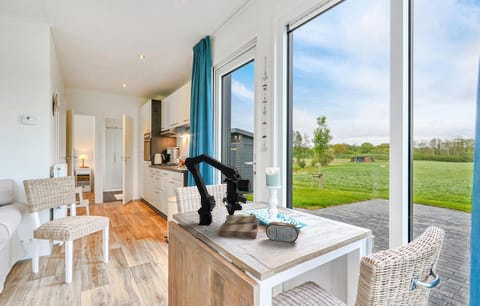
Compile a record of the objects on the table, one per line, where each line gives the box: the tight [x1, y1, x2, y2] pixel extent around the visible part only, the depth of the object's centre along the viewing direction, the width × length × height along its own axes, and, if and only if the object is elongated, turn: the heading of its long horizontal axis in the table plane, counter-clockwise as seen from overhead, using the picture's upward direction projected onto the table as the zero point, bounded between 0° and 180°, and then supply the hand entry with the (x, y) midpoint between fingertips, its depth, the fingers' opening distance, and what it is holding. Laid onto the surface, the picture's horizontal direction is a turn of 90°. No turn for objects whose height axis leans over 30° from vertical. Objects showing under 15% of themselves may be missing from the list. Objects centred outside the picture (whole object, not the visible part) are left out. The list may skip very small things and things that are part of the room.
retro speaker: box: [265, 221, 300, 244], centre depth 108 cm, size 15×3×8 cm, turn 74°
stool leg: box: [225, 212, 257, 224], centre depth 126 cm, size 16×4×4 cm, turn 103°
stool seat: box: [218, 217, 260, 240], centre depth 123 cm, size 18×22×5 cm
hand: (231, 219), depth 128 cm, fingers closed
